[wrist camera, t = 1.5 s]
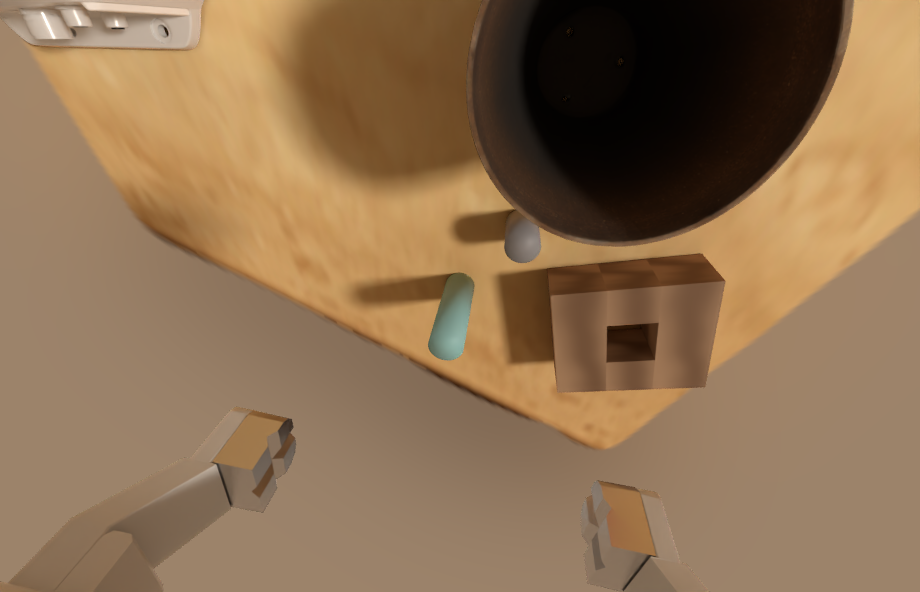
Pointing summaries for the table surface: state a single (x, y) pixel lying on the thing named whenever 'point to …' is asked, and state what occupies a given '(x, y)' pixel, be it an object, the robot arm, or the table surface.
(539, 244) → the charcoal dowel
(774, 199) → the table surface
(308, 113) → the table surface
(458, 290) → the teal dowel
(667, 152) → the plant pot
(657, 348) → the walnut block
